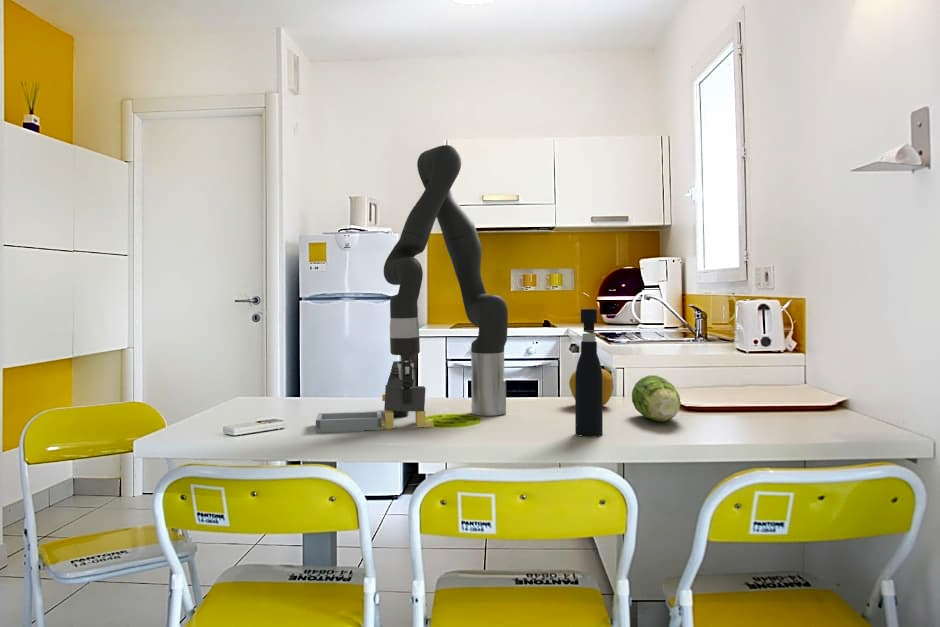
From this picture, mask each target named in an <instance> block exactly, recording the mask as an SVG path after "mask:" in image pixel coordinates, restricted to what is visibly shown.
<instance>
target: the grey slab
mask: <svg viewBox="0 0 940 627" xmlns="http://www.w3.org/2000/svg"><path fill="white" fill-rule="evenodd" d="M384 387H385V388H384V390H385V391H384V394H382V398H381V401H383V402H384V412H385V411H409V412H417V411H425V407H426V406H425V405H426V404H425V401H426V387H425V386H419V385H415V386H412V389H411V397H412V403H411V404H403V392H402V388H401V386H399V385H387V384H385V386H384Z"/></svg>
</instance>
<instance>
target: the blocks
mask: <svg viewBox="0 0 940 627" xmlns="http://www.w3.org/2000/svg"><path fill="white" fill-rule="evenodd" d="M414 415H415V424H416V428H417V429H419V428H418V427H425V428H426V427H432V428H435V424H434V422H433V420H432V419H426V410H424V411H417V412H415V414H414ZM394 418H395V416H393V411H385V410H384V420H383V421H382V430H391V429H390V428H394V427H395V426H394V425H395V424H394ZM425 425H426V426H425Z"/></svg>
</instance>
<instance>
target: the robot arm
mask: <svg viewBox="0 0 940 627" xmlns="http://www.w3.org/2000/svg"><path fill="white" fill-rule="evenodd" d="M416 166H417V167H416V168H417V172H418V174H419V178H420V181H421V183H422V186H423V187H424V191H423V193H422V194H421V195H420V197H419V199H418V200H417V202H416V203H415V204H414V205H413V207H412V209H411V210H410V212H409V214H408V216H407V218H406V221H405V223H404V225H403V229H402V231H401V235H400V237H399V239H398V241H397V242H396V244H394V247H393V248H392V250H391V251H390V253H389V254H388V256H387V258H386V259H385V262H384V264H383V265H384V266H383V277H384V279H385V281H386V282H387V283H389V284H390V285H392V286H399V288H398V293H397V294H394V295H392V296H391V298H390V301H389V315H390V316H389V317H390V320H389V344H390V346H389V348H390V351H389V352H390V354H391V355H393V356H399V358H400V359H399V360H397V361H398V369H399V378H400V385H401V388H402V392H403V404H411V403H412V397H411V389H412V386H413V384H412V379H413V370H414V367H415V365H414V364H415V362H414V361H413V360H412V359H411V356H413V355H419V354H420V352H421V343H420V342H421V341H420V340H421V339H420V323H419V309H418V300H419V297H420V292H421V287H422V283H423V276H424V275H423V273H424V272H423V267H422V264H421V262H420V261H419V260H418V259H417V258H415V257H416V256H417V255H419V254H422V253H423V252H424V251H425V250H426V247H427V244H428V241H429V239H430V236H431V233H432V230H433V226H434V225H435V221H436V219H437V222H438V225H439V227H440V230H441V234H442V236H443V240H444V245H445V246H446V250H447V252H448V255H449V258H450V261H451V264H452V267H453V269H454V273H455V275H456V278H457V281H458V284H459V288H460V293H461V298H462V302H463V308H464V311H465V315H466V317H467V320H468V321H469V322H470V323H471V325H473V326H474V327H478V334H477V337H476V339H475V340H473V341H472V342H471V345H470V346H471V347H470V348H471V350H470V354H471V356H470V359H471V360H470V361H471V362H470V363H471V365H470V366H471V367H470V368H471V371H470V372H471V374H470V375H471V377H470V378H471V379H470V380H471V381H470V382H471V384H470V385H471V388H470V389H471V414H473V415H476V416H482V417H483V416H487V417H488V416H490V417H491V416H499V415H506V414H507V381H506V379H505V345H506V343H507V340H508V328H509V326H508V324H509V323H508V322H509V310H508V306H507V303H506V301H505V300H504V299H503V297H501V296H499V295H497V294H488V293H487V290H486V287H485V285H484V282H483V278H482V273H481V267H482V254H483V253H482V251H483V250H482V245H481V244H482V243H481V241H480V237H479V234H478V231H477V228H476V225H475V223H474V221H473V220H472V219H471V217H470V216H469V215H468V213H467V212H466V211H465V210H464V208H462V206H461V205H460V204H459V203H458V202H457V200H456V199H455V197H454V195H453V193H452V192H453V191H452V190H451V188H452V186H453V185H454V183H455V181H456V179H457V178H458V175H460V174H459V173H460V171H461V168H462V158H461V155H460V153H459V151H458V150H457V149H456V147H454V146H452V145H449V144H443V145H439V146H435V147H433V148H430V149H428V150H427V149H426V150H425V151H423V152H421V153H420V154H419V156H418V158H417V164H416Z"/></svg>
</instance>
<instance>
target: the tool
mask: <svg viewBox="0 0 940 627" xmlns="http://www.w3.org/2000/svg"><path fill="white" fill-rule="evenodd" d="M398 361H399V360H397V361H396V360H394V361H393V362H392V365H391V369H390V372H389V375H388V378H387V379H388V380H387V383H386V385H399V386H401V385H400V378H399V369H398ZM416 382H417V380H416V371H415V369H413V379H412V384H413V386H417V385H416ZM409 412H410V411H393V417H408V416H409Z"/></svg>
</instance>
